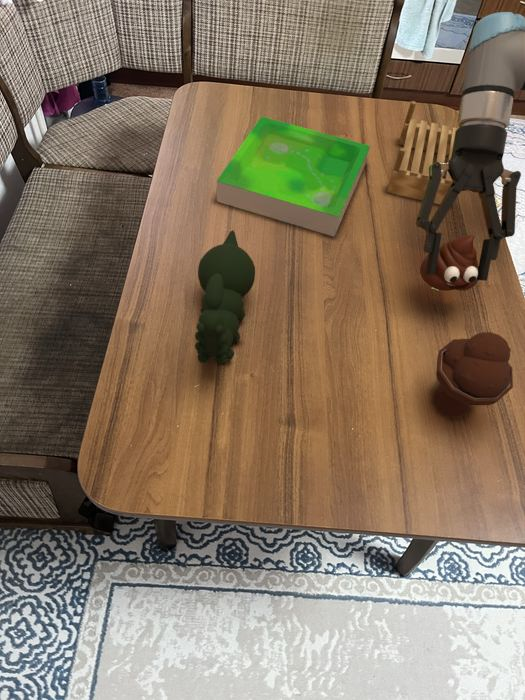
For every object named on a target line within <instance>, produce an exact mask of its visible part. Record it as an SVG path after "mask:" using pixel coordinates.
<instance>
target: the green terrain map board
mask: <svg viewBox="0 0 525 700" xmlns="http://www.w3.org/2000/svg"><path fill="white" fill-rule="evenodd" d="M370 147H371V145H369V144H366V143H362V142H359V141H354V140H352V139H351V140H350V139H347V138H343V137H340V136H336V135H333V134H329V133H325V132H321V131H318V130H314V129H311V128H310V129H309V128H307V127H303V126H299V125H295V124H291V123H287V122H284V121H280V120H277V119H273V118H270V117H265V116H260V118H259V119H258V120H257V122H256V124H254V126H253V128H252V129H251V131H250V132H249V133H248V135H247V136H246V137H245V139H244V141H243V142H242V143H241V145H240V146H239V148H238V150H237V151H236V152H235V154H234V155H233V157H232V158H231V159H230V161H229V162H228V164H227V165H226V167H225V168H224V170H223V171H222V172H221V174H220V175H219V177H218V178H217V180H216V202H217V203H221V204H224V205H227V206H231V207H233V208H236V209H240V210H242V211H247V212H250V213H254V214H257V215H260V216H263V217H267V218H269V219H274V220H276V221H277V220H278V221H279V222H283V223H287V224H289V225H293V226H297V227H300V228H304V229H308V230H310V231H313V232H317V233H320V234H324V235H326V236H330V237H334V238H335V236H336V234H337V232H338V229H339V227H340V224H341V222H342V220H343V218H344V215H345V213H346V211H347V209H348V207H349V204H350V202H351V199H352V197H353V194H354V192H355V190H356V187H357V186H358V183H359V181H360V179H361V176H362V174H363V171H364V169H365V167H366V163H367V160H368V156H369V152H370Z"/></svg>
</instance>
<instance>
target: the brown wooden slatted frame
mask: <svg viewBox="0 0 525 700" xmlns="http://www.w3.org/2000/svg"><path fill="white" fill-rule="evenodd" d="M416 105H417V102H416V101H415V100H411V101H410V103H409V107H408V110H407V113H406V117H405V119H404V124H403V126H402V130H401V132H400V136H399V140H398V145H399V146H403V147H400V148H399V151H398V154H397V157H396V160H395V163H394V167H393V170H392V173H391V175H390V180H389V183H388V185H387V189H386V193H387V194H393V195H397V196H401V197H405V198H409V199H415V200H419V201H421V202H422V201H423V198H424V195H425V192H426V188H427V185H428V182H429V167H430V166H431V165H432V164H433V163H434V155H435V154H436V158H435V162H439V163H445V162H446V161H445V160H446V156H448V157H447V162H446V163H448V161H449V160H450V158H451V156H452V150H453V144H454V138H455V132H456V130H457V129H458V128H459V127H452V129H450V125H444V124H442V125H441V127H439V126H440V124H439V123H436V122H431V124H430V125H429V121H426V120H420V123H419V122H418V119H417V118H413V115H414V113H415V108H416ZM412 149H414V151H413V157H412V160H411V161H412V162H411V166H410V170H408V167H409V161H410V158H411V152H412ZM423 151H425V155H424V159H423V165H422V171H421V172H422V173H421V172H420V166H421V162H422V156H423ZM444 177H445V178H443V176H442V177H441V180H440V184H439V187H438V190H437V193H436V196H435V200H434V203H433V204H435V205H438V206H439V205H440V204H441V202H442V200H443V199H444V197H445V195H446V194H447V191H448V189H449V187H450V186H451V184H452V182H453V181H452V179H451V177H450V175H449V173H448V171H447V170H446V171H445V176H444Z"/></svg>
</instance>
